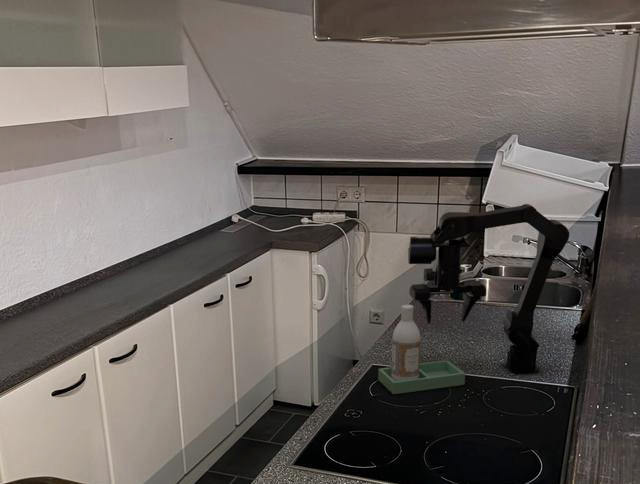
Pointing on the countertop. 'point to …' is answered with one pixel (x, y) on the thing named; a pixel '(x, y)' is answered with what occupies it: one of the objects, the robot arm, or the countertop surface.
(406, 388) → the tray
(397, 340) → the bath foam
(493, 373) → the countertop surface
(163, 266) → the countertop surface
